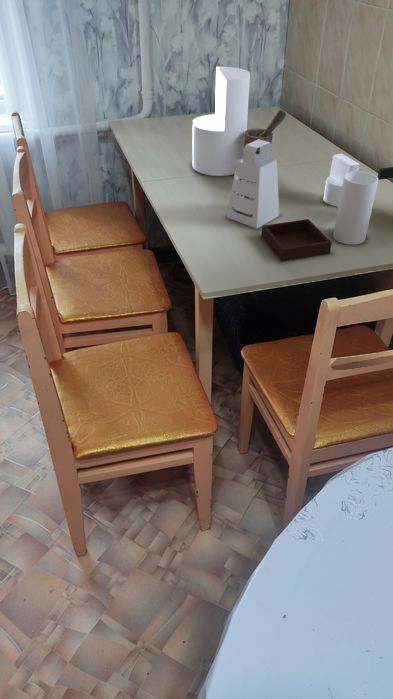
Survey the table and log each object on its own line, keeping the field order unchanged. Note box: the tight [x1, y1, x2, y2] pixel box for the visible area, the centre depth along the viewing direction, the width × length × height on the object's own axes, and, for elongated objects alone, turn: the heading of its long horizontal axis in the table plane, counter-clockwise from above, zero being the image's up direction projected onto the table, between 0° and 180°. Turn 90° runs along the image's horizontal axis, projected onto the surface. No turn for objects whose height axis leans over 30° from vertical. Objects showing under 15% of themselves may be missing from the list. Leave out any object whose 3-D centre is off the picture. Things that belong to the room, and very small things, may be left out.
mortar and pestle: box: [244, 109, 287, 155], centre depth 168 cm, size 12×9×20 cm
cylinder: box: [191, 65, 251, 177], centre depth 171 cm, size 17×17×28 cm
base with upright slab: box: [323, 153, 360, 207], centre depth 156 cm, size 9×9×12 cm
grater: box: [225, 139, 280, 229], centre depth 144 cm, size 10×10×20 cm
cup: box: [332, 170, 379, 245], centre depth 137 cm, size 8×8×16 cm
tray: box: [260, 218, 333, 262], centre depth 137 cm, size 13×13×3 cm
